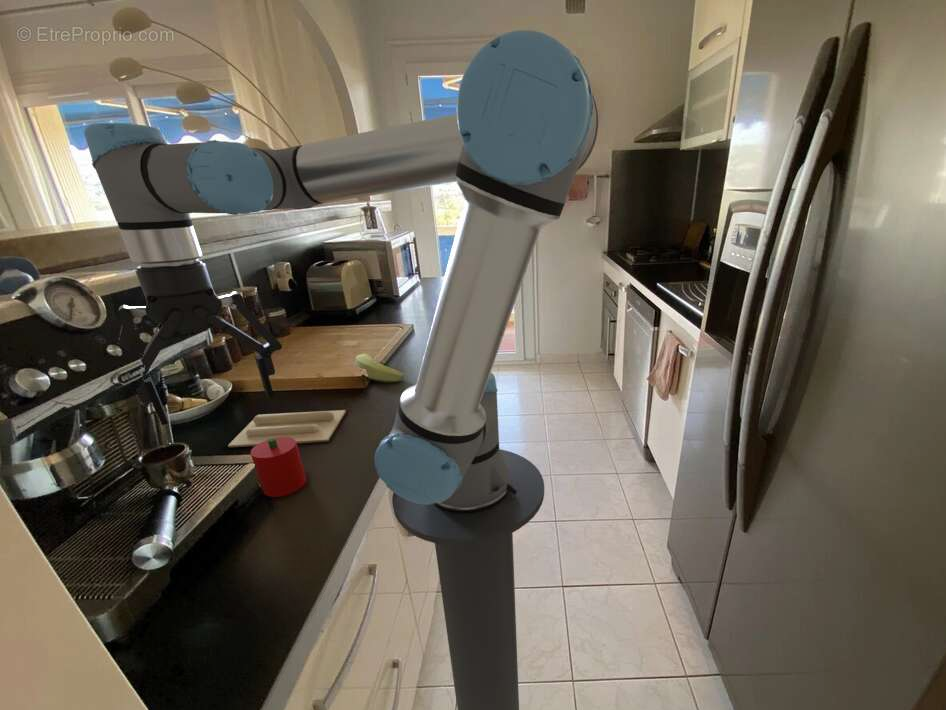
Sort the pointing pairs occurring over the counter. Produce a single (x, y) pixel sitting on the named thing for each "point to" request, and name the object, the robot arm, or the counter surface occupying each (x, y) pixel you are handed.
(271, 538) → the counter surface
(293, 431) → the cream ridged board
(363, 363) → the banana
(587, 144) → the robot arm
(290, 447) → the pepper
